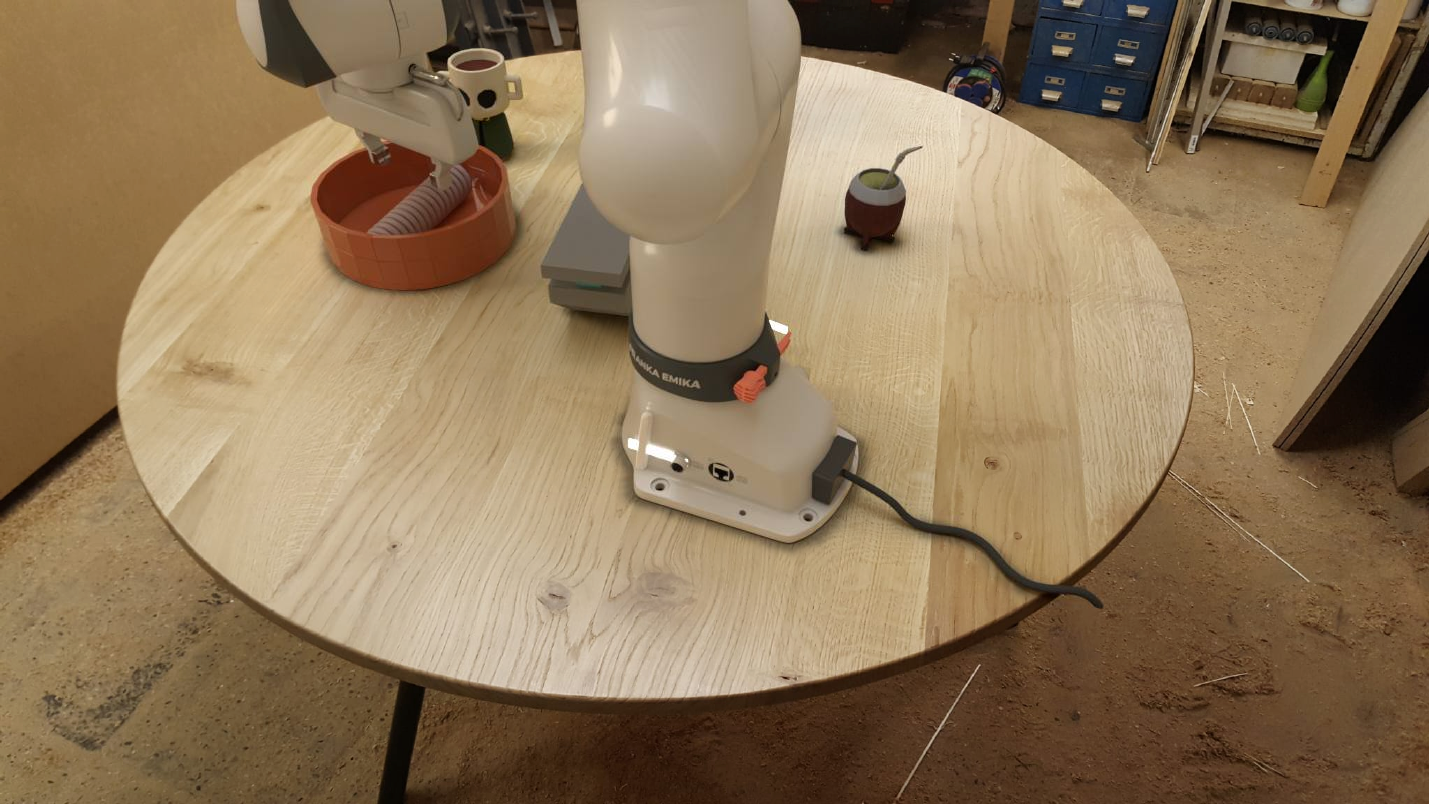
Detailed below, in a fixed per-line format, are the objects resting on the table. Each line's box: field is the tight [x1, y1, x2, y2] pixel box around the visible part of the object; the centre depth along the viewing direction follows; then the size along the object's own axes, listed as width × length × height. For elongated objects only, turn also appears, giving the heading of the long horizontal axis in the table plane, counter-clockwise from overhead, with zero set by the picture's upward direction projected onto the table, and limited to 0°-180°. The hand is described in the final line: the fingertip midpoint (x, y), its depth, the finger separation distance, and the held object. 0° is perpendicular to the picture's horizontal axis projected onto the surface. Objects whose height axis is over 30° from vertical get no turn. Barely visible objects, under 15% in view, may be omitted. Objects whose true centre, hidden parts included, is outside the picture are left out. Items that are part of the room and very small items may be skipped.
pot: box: [309, 140, 517, 291], centre depth 102 cm, size 22×22×7 cm
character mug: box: [436, 47, 524, 160], centre depth 114 cm, size 11×7×13 cm, turn 86°
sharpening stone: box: [540, 182, 632, 318], centre depth 95 cm, size 25×8×11 cm, turn 171°
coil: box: [367, 165, 472, 235], centre depth 102 cm, size 5×5×18 cm
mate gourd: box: [843, 145, 924, 252], centre depth 101 cm, size 8×8×15 cm
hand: (412, 174), depth 99 cm, fingers open, 8 cm apart
